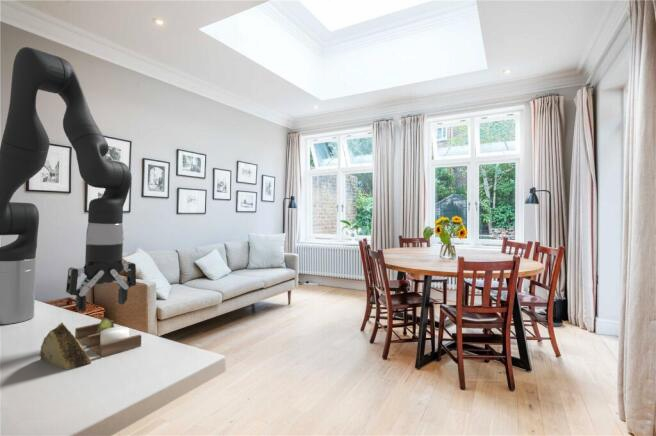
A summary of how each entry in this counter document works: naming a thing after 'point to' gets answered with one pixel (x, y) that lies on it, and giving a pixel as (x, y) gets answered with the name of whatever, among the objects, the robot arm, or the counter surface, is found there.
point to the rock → (63, 349)
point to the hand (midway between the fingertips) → (102, 307)
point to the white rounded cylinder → (113, 334)
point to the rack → (93, 342)
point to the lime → (104, 325)
